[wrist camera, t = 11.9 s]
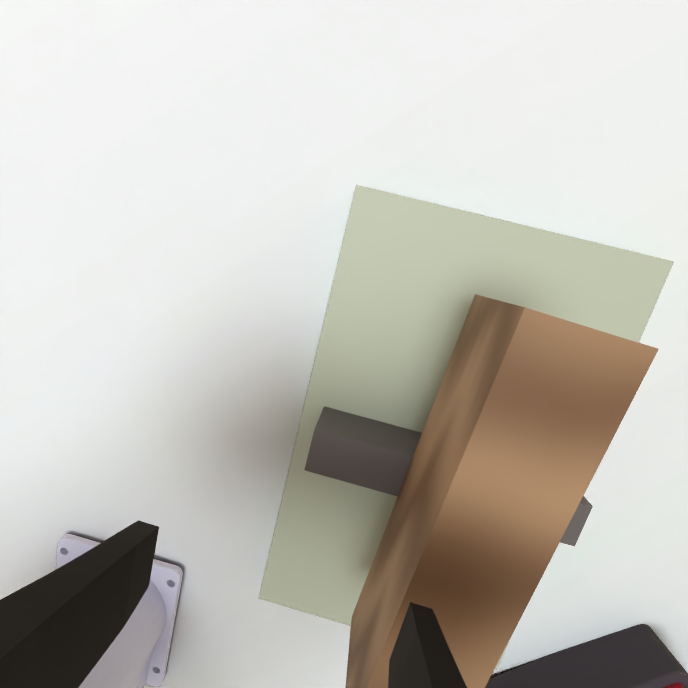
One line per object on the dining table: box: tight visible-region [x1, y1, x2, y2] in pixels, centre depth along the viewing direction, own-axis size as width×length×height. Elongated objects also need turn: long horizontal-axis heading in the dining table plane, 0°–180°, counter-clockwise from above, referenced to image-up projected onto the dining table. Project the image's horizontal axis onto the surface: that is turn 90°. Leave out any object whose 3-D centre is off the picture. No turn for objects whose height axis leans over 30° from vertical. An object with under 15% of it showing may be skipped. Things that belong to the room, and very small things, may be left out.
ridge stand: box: [259, 185, 674, 669], centre depth 18 cm, size 23×14×4 cm, turn 166°
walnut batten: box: [346, 294, 658, 688], centre depth 13 cm, size 16×3×5 cm, turn 163°
